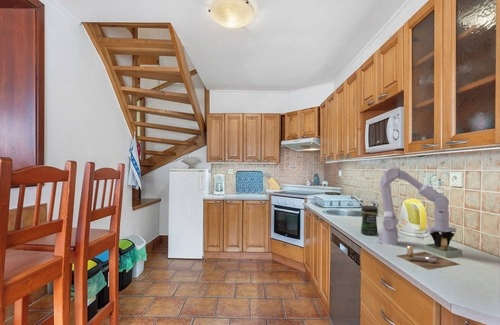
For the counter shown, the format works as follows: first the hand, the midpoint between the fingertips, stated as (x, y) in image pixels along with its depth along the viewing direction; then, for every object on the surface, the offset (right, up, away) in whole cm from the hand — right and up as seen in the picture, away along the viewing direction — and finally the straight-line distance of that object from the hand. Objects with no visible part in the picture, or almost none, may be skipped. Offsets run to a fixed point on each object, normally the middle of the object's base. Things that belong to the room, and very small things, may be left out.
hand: (441, 246), depth 119 cm
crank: (-18, -3, -11) cm, 21 cm away
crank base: (-15, -4, -10) cm, 18 cm away
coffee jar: (-19, -5, +35) cm, 40 cm away
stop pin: (0, -2, 0) cm, 2 cm away
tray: (0, -4, 0) cm, 4 cm away
